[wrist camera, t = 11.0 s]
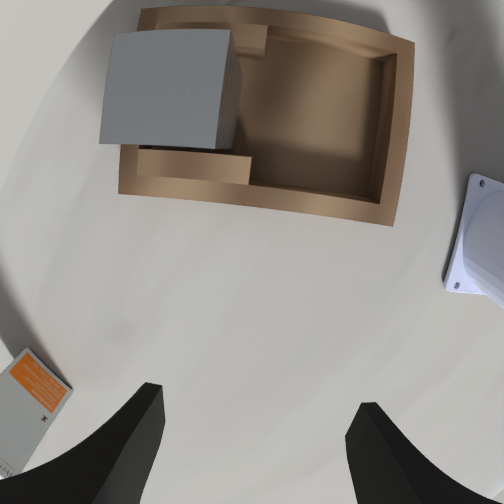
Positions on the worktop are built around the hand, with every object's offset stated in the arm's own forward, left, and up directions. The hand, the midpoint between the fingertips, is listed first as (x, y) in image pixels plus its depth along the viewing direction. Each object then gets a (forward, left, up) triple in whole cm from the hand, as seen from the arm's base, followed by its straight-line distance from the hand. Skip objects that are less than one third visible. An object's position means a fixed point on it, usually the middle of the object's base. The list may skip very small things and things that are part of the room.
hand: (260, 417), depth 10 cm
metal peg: (+5, -11, -9) cm, 15 cm away
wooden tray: (+1, -11, -9) cm, 15 cm away
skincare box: (+19, +12, -10) cm, 24 cm away
